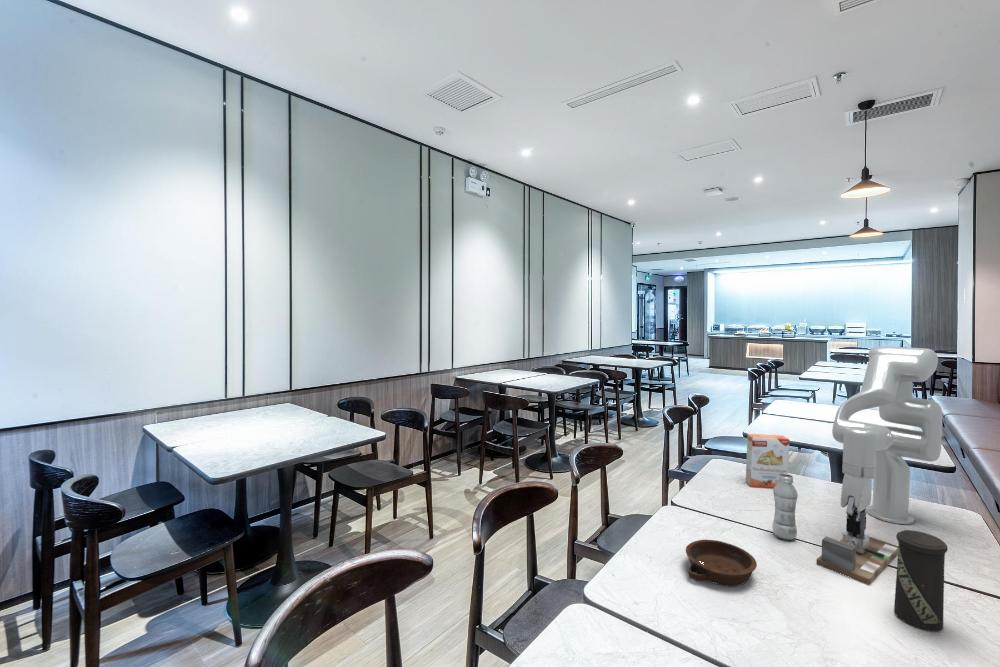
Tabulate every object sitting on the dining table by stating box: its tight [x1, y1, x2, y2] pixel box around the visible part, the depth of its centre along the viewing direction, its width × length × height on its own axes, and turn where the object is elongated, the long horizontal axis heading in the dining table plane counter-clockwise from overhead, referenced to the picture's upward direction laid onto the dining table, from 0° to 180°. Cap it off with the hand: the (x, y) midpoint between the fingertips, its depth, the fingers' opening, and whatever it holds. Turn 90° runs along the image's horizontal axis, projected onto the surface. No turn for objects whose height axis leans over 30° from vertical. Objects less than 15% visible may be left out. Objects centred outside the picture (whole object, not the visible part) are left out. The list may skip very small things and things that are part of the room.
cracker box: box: [745, 433, 790, 489], centre depth 184 cm, size 14×6×21 cm, turn 81°
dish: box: [685, 539, 757, 587], centre depth 124 cm, size 18×22×5 cm
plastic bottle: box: [771, 474, 799, 541], centre depth 142 cm, size 6×7×20 cm
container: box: [893, 529, 949, 632], centre depth 104 cm, size 9×9×20 cm
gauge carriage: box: [841, 511, 884, 557], centre depth 129 cm, size 11×9×11 cm
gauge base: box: [815, 535, 898, 586], centre depth 130 cm, size 28×12×8 cm, turn 125°
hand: (856, 529), depth 132 cm, fingers closed on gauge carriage, 4 cm apart
